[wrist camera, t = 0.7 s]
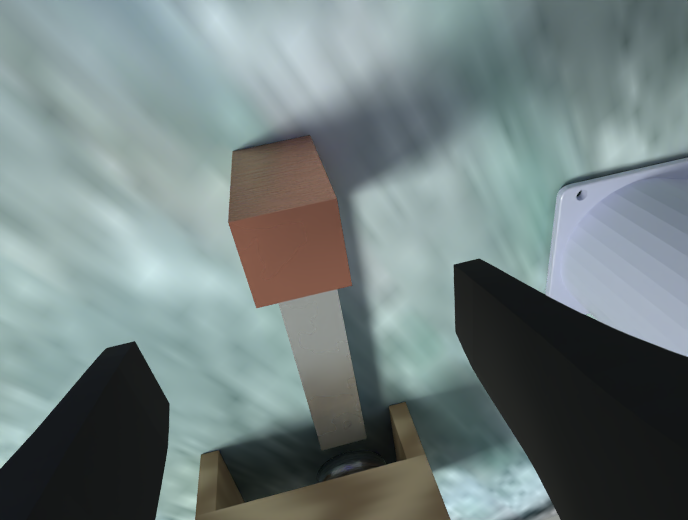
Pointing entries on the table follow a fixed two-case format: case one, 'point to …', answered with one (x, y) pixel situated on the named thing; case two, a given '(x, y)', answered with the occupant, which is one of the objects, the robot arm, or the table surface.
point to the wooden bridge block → (335, 489)
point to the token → (349, 464)
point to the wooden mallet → (299, 271)
